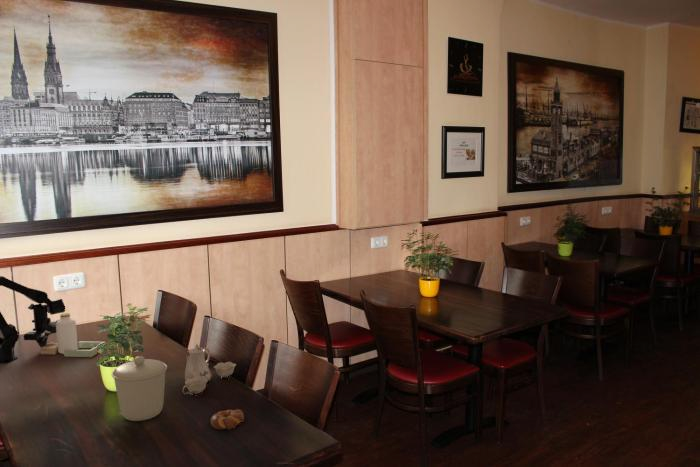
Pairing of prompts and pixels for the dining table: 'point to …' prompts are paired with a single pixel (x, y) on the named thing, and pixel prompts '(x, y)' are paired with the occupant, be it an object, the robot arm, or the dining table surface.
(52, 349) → the oak block
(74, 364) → the dining table surface
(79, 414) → the dining table surface
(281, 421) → the dining table surface
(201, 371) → the chinaware
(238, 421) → the braided ring pastry
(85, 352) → the tray frame
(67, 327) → the potion bottle
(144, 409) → the canister
